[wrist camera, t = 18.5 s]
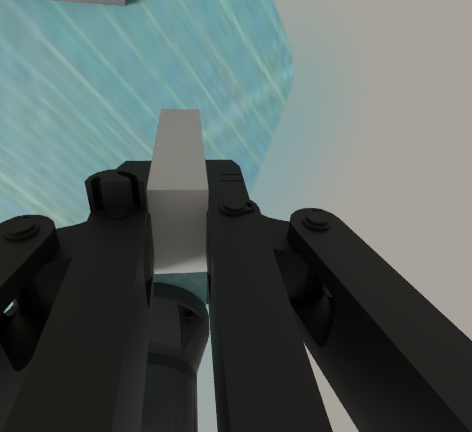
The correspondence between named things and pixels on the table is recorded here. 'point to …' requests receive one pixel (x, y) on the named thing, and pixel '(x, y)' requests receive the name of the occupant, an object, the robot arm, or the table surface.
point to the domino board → (101, 2)
